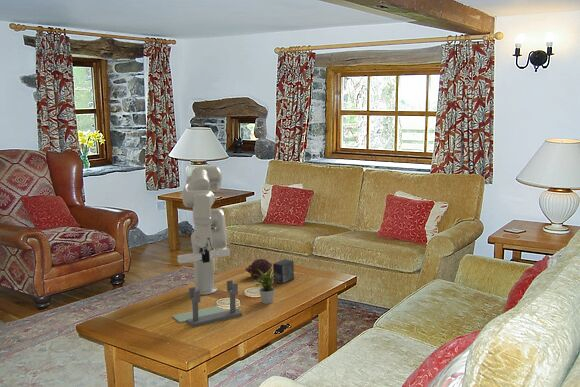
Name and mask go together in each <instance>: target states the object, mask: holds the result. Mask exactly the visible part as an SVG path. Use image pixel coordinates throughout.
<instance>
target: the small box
mask: <svg viewBox="0 0 580 387" xmlns="http://www.w3.org/2000/svg"><path fill="white" fill-rule="evenodd" d="M294 263H295V262H294V260H293V259H287V258H284V259H281V260H279V261H276V262H274V263H272V272H273V271H274V272H273V275H274V273H275V275H274V277H275V276H276V277H275V278H274V277H273V278H274V279H273V283H274V282H275V283H274V284H280V285H284V284H286V283H288V282H291V281H292V280H295V272H294V271H295V269H294V268H295V266H294ZM273 275H272V276H273ZM276 281H279V282H276Z"/></svg>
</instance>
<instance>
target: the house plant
mask: <svg viewBox="0 0 580 387" xmlns="http://www.w3.org/2000/svg"><path fill="white" fill-rule="evenodd" d="M257 270H258V269H257ZM259 271H260V270H259ZM273 272H274V271H273V267H271V269H270V270H268V272H267V273H266V275H265V274H264V273H263V272H261V271H260V273H261V275H262V276H259V275H258V276H259V278H257V279H258V280H254V279H253V280H251V281H252V282H253V283H255V284H254V286H255V288H257V287H259V286H261V287H260V288H259V293H260V294H259V295H260V300H261V303H262V304H265V305H266V304H268V305H269V304H272V303H273V302H274V295H275V288H274V286H273V284H276V283H275V282H274V278H275V277H276V276H275V277H274V275H275V273H274V275H273ZM256 275H257V274H256ZM276 282H279V281H276Z"/></svg>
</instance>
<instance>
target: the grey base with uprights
mask: <svg viewBox="0 0 580 387" xmlns="http://www.w3.org/2000/svg"><path fill="white" fill-rule="evenodd" d="M238 285H239V284H238V282H234V281H233V279H229V280H226V292H227V293H228V294H229V303H230V310H228V311H224V312H219V313H215V314H210V315H205V316H201V317H198V310H199V303H201V295H200V291H199V290H197V291H195V286H193V287H189V289H188V290H189V293H188V294H189V295H188V296H189V300H191V303H192V304H191V305H192V311H193V318H192V319H187V322H186V324H187V325H189V326H190V327H191V328H195V327H201V326H205V325H208V324H212V323H213V324H214V323H217V322H222V321H226V320H230V319H235V318H239V317H240V318H241V317H243V312H242V311H240V309H239V310H237V309H236V307H237V305H236V296H237V295H238V293H239V291H238V290H239V286H238Z"/></svg>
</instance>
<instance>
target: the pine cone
mask: <svg viewBox="0 0 580 387" xmlns="http://www.w3.org/2000/svg"><path fill="white" fill-rule="evenodd" d="M271 268H273V263H271V262H269V260H267V259H265V258H257V259H254V260H253V261H252V263H251V264H248V267H245V271H246V272H247V273H249V274H250V276H251V277H253V278H257V279H258V278H259V279H260V277H262V275H261V273H260V271H261V272H263V273H264V275H265V274H267V272H268V270H269V271H270V269H271ZM257 269H258V270H257ZM259 270H260V271H259ZM256 274H257V275H256ZM258 275H259V276H260V277H259V276H258Z"/></svg>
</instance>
